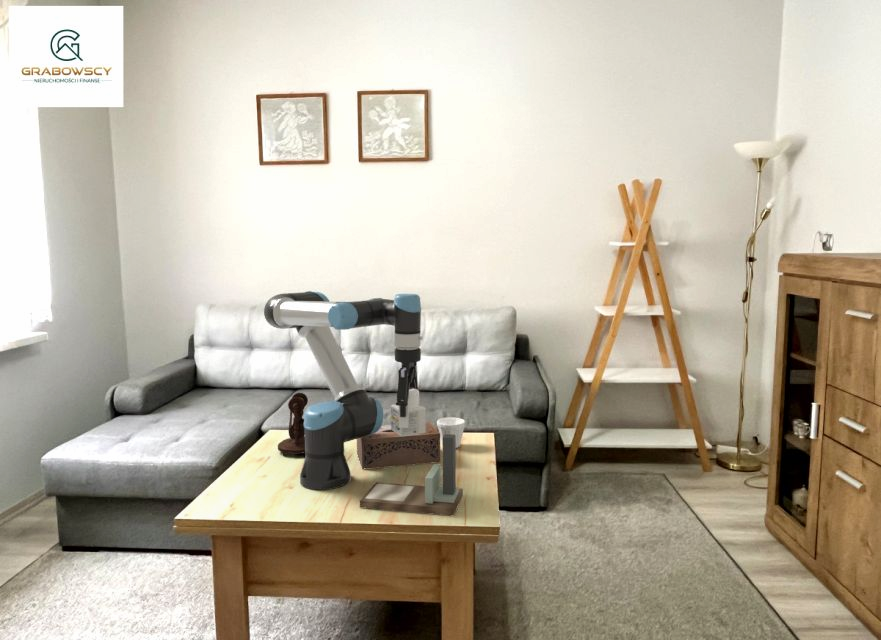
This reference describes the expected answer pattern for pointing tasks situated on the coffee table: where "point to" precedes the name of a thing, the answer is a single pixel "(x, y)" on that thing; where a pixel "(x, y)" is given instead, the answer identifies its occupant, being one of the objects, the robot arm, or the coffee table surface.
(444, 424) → the cup
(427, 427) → the tissue box cover
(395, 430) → the container
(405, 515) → the coffee table surface
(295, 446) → the dark brown upright piece
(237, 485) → the coffee table surface
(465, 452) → the coffee table surface
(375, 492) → the brown wooden base tray
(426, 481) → the slider
